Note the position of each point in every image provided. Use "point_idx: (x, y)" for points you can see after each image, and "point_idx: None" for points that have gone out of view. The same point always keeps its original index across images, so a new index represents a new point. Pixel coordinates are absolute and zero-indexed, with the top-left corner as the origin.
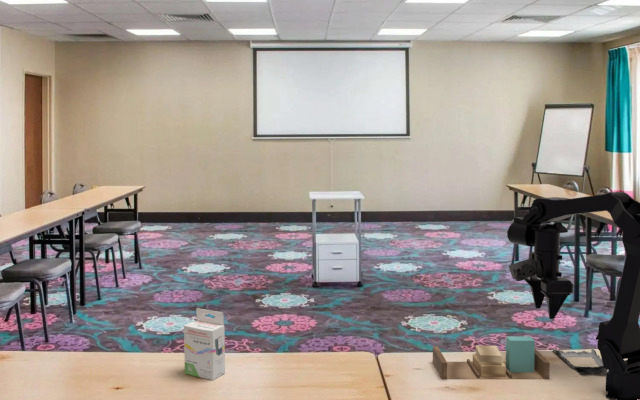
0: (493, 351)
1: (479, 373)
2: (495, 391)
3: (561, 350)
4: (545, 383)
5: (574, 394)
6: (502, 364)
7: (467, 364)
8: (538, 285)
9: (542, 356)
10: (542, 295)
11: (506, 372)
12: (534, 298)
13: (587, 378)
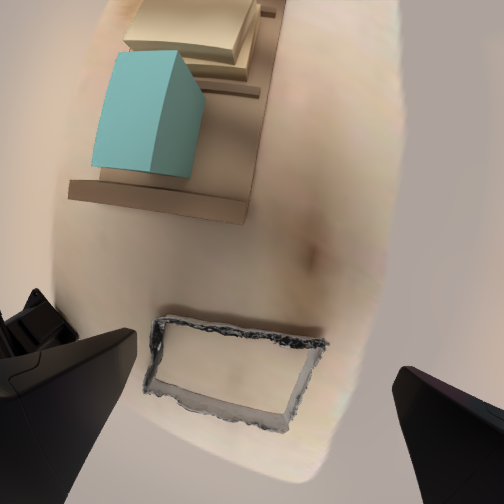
0: (172, 23)
1: None
2: (101, 46)
3: (317, 363)
4: None
5: (52, 229)
6: None
7: None
8: (482, 491)
9: (118, 201)
10: (423, 459)
11: None
12: (442, 396)
13: (136, 325)
